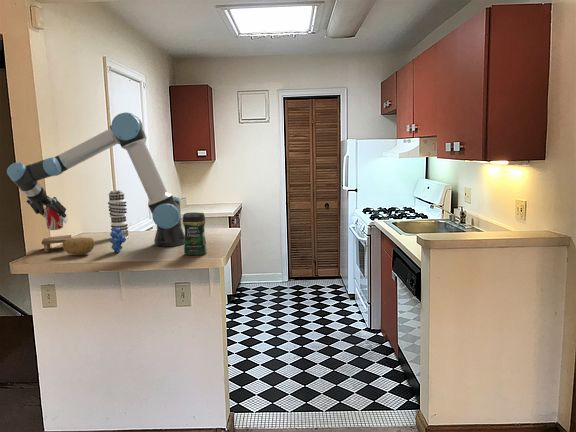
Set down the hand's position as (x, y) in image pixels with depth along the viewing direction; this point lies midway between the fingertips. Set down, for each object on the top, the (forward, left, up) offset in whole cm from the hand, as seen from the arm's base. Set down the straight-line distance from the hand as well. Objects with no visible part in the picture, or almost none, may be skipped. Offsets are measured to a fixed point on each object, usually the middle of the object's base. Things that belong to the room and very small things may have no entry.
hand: (59, 220), depth 227 cm
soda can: (-3, +2, -4) cm, 5 cm away
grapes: (-26, -25, -13) cm, 39 cm away
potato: (-22, -8, -13) cm, 27 cm away
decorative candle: (+10, -27, -13) cm, 32 cm away
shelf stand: (-3, +2, -13) cm, 14 cm away
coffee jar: (-46, -56, -13) cm, 74 cm away
